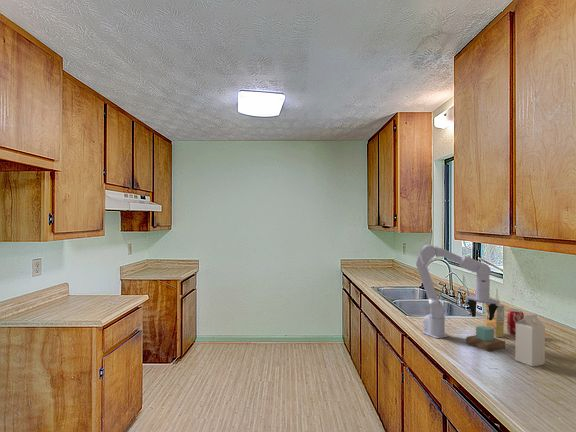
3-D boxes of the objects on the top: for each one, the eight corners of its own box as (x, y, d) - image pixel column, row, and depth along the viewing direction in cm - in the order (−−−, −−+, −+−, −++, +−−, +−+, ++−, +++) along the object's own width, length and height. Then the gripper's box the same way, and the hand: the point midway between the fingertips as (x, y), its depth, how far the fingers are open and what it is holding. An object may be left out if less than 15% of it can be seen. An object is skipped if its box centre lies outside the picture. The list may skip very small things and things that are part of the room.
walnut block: (466, 344, 171) (466, 336, 171) (482, 341, 175) (482, 334, 175) (488, 352, 161) (488, 344, 161) (505, 349, 165) (505, 341, 165)
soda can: (527, 335, 183) (527, 311, 183) (517, 337, 181) (517, 312, 181) (513, 331, 190) (514, 307, 190) (503, 332, 187) (504, 308, 187)
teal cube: (476, 337, 170) (476, 326, 170) (484, 336, 171) (484, 325, 171) (484, 341, 165) (485, 329, 165) (493, 340, 167) (493, 329, 167)
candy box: (484, 331, 189) (485, 301, 189) (492, 331, 189) (492, 301, 189) (496, 337, 180) (496, 305, 180) (504, 337, 180) (504, 305, 180)
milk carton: (515, 360, 151) (515, 313, 151) (527, 358, 154) (528, 311, 154) (532, 367, 144) (532, 317, 144) (544, 364, 147) (545, 316, 147)
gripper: (463, 287, 178) (462, 316, 178) (495, 292, 167) (495, 323, 167) (469, 286, 183) (469, 313, 183) (501, 291, 171) (501, 320, 171)
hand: (482, 318), depth 175 cm, fingers open, 7 cm apart
